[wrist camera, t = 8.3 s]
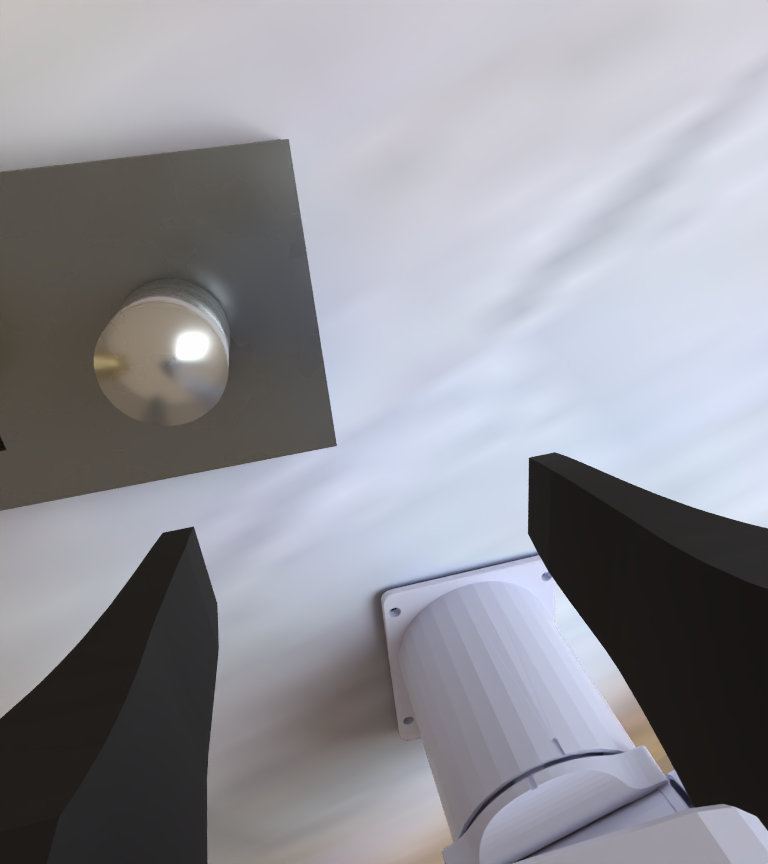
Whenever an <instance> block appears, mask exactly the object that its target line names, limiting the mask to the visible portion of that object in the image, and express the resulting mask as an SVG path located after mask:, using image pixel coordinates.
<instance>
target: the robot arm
mask: <svg viewBox="0 0 768 864" xmlns="http://www.w3.org/2000/svg"><path fill="white" fill-rule="evenodd" d="M528 534H529V536H530V538H531V540H532V542H533V544H534V546H535V548H536V550H537V552H538V554H539V555H538V556H533V557H529V558H525V559H520V560H516V561H512V562H507V563H503V564H499V565H494V566H490V567H486V568H481V569H477V570H473V571H469V572H464V573H460V574H456V575H451V576H447V577H443V578H438V579H434V580H430V581H425V582H421V583H417V584H412V585H408V586H404V587H399V588H395V589H391V590H388V591H386V592H385V593H384V594H383V595H382V597H381V606H382V613H383V620H384V627H385V635H386V642H387V649H388V657H389V664H390V671H391V679H392V686H393V693H394V700H395V708H396V715H397V722H398V730H399V734H400V737H401V738H402V739H403V740H407V741H408V740H413V739H417V738H420V737H421V738H422V741H423V744H424V747H425V751H426V754H427V757H428V761H429V764H430V767H431V770H432V774H433V777H434V780H435V783H436V787H437V790H438V793H439V797H440V800H441V803H442V806H443V810H444V813H445V816H446V819H447V823H448V826H449V829H450V833H451V836H452V839H453V842H454V843H452V844H451V845H449V846H447V847H446V848H444V849H443V851H442V854H443V858H444V861H445V864H768V528H763V527H759V526H755V525H751V524H747V523H743V522H740V521H736V520H733V519H729V518H726V517H722V516H719V515H715V514H712V513H709V512H705V511H702V510H699V509H696V508H693V507H690V506H687V505H684V504H682V503H679V502H676V501H673V500H671V499H668V498H665V497H662V496H660V495H657V494H655V493H652V492H650V491H647V490H645V489H642V488H640V487H637V486H635V485H632V484H630V483H628V482H625V481H623V480H621V479H618V478H616V477H614V476H611V475H609V474H607V473H604V472H602V471H600V470H597V469H595V468H593V467H591V466H588V465H586V464H584V463H581V462H579V461H577V460H574V459H572V458H569V457H567V456H564V455H561V454H558V453H550V454H545V455H540V456H535V457H531V458H529V502H528ZM546 572H547V573H546ZM544 573H546V574H545V575H543V574H544ZM542 575H543V576H542ZM556 583H557V584H558V586H559V587H560V589H561V590H562V591H563V593H564V594H565V595H566V597H567V598H568V600H569V601H570V602H571V604H572V605H573V606H574V608H575V609H576V610H577V612H578V613H579V615H580V616H581V617H582V619H583V620H584V621H585V623H586V624H587V625H588V627H589V628H590V629H591V631H592V632H593V634H594V635H595V636H596V638H597V639H598V640H599V642H600V643H601V644H602V646H603V647H604V648H605V650H606V651H607V653H608V654H609V656H610V657H611V659H612V660H613V662H614V663H615V665H616V666H617V668H618V669H619V671H620V673H621V674H622V676H623V678H624V679H625V681H626V683H627V685H628V686H629V688H630V690H631V691H632V693H633V695H634V697H635V698H636V700H637V702H638V703H639V705H640V707H641V708H642V710H643V712H644V714H645V716H646V717H647V719H648V721H649V723H650V725H651V727H652V728H653V730H654V732H655V734H656V736H657V737H658V739H659V741H660V743H661V745H662V746H663V748H664V750H665V752H666V754H667V756H668V757H669V759H670V761H671V763H672V765H673V767H674V769H675V770H673V771H671V772H670V773H668V774H666V775H667V778H668V780H667V778H666V777H665V775H664V774H663V772H662V771H661V769H660V768H659V766H658V765H657V763H656V762H655V760H654V759H653V757H652V756H651V754H650V753H649V751H648V750H647V748H646V747H645V746H639V747H637V748H636V747H635V745H634V744H633V742H632V741H631V739H630V738H629V736H628V734H627V733H626V731H625V730H624V728H623V727H622V725H621V724H620V722H619V721H618V719H617V718H616V716H615V715H614V713H613V712H612V710H611V709H610V707H609V705H608V704H607V702H606V701H605V699H604V698H603V696H602V695H601V693H600V692H599V690H598V689H597V687H596V686H595V684H594V683H593V681H592V680H591V678H590V676H589V675H588V673H587V672H586V670H585V669H584V667H583V666H582V664H581V663H580V661H579V660H578V658H577V657H576V655H575V654H574V652H573V651H572V649H571V647H570V646H569V644H568V643H567V641H566V640H565V638H564V637H563V635H562V634H561V632H560V631H559V629H558V628H557V626H556V625H555V603H556ZM393 608H397V609H396V610H394V611H390V610H391V609H393ZM218 649H219V645H218V613H217V602H216V598H215V595H214V592H213V588H212V585H211V582H210V579H209V575H208V572H207V569H206V565H205V562H204V559H203V556H202V552H201V549H200V546H199V542H198V539H197V536H196V533H195V529H194V527H189V528H185V529H180V530H175V531H170V532H165V533H162V535H161V536H160V537H159V539H158V540H157V542H156V543H155V544H154V546H153V547H152V548H151V550H150V551H149V553H148V554H147V555H146V557H145V558H144V560H143V561H142V563H141V564H140V565H139V567H138V568H137V570H136V571H135V572H134V574H133V575H132V577H131V578H130V579H129V581H128V582H127V583H126V585H125V586H124V587H123V589H122V590H121V591H120V593H119V594H118V595H117V597H116V598H115V600H114V601H113V602H112V604H111V605H110V606H109V607H108V609H107V610H106V611H105V612H104V613H103V615H102V616H101V617H100V618H99V619H98V621H97V622H96V623H95V624H94V625H93V627H92V628H91V629H90V630H89V632H88V633H87V634H86V635H85V636H84V638H83V639H82V640H81V641H80V642H79V643H78V644H77V645H76V647H75V648H74V649H73V650H72V651H71V652H70V653H69V654H68V655H67V656H66V657H65V658H64V659H63V660H62V662H61V663H60V664H59V665H58V666H57V667H56V668H55V669H54V670H53V671H52V672H51V673H50V674H49V675H48V676H47V677H46V678H45V679H44V680H43V681H42V682H41V683H40V684H39V685H37V686H36V687H35V688H34V689H33V690H32V691H31V692H30V693H29V694H28V695H27V696H25V697H24V698H23V699H22V700H21V701H20V702H19V703H18V704H16V705H15V706H14V707H13V708H12V709H11V710H10V711H9V712H8V713H6V714H5V715H4V716H3V717H2V718H1V719H0V864H207V767H208V751H209V741H210V731H211V721H212V712H213V702H214V692H215V682H216V671H217V661H218Z"/></svg>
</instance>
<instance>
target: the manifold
mask: <svg viewBox="0 0 768 864" xmlns="http://www.w3.org/2000/svg"><path fill="white" fill-rule="evenodd" d="M333 446H337V444H336V438H335V431H334V425H333V419H332V412H331V406H330V400H329V393H328V387H327V381H326V374H325V368H324V361H323V355H322V349H321V342H320V336H319V330H318V323H317V317H316V310H315V304H314V298H313V291H312V285H311V279H310V272H309V266H308V260H307V253H306V247H305V240H304V234H303V228H302V221H301V215H300V209H299V202H298V196H297V190H296V183H295V177H294V170H293V164H292V158H291V151H290V145H289V139H284V140H275V141H266V142H257V143H249V144H240V145H231V146H222V147H214V148H205V149H196V150H188V151H179V152H170V153H161V154H153V155H144V156H135V157H127V158H118V159H109V160H100V161H92V162H83V163H74V164H66V165H57V166H48V167H39V168H31V169H22V170H13V171H5V172H0V511H1V510H6V509H11V508H16V507H22V506H27V505H32V504H37V503H42V502H48V501H53V500H58V499H63V498H68V497H74V496H79V495H84V494H89V493H94V492H99V491H105V490H110V489H115V488H120V487H125V486H131V485H136V484H141V483H146V482H151V481H157V480H162V479H167V478H172V477H177V476H183V475H188V474H193V473H198V472H203V471H209V470H214V469H219V468H224V467H229V466H235V465H240V464H245V463H250V462H255V461H261V460H266V459H271V458H276V457H281V456H287V455H292V454H297V453H302V452H307V451H313V450H318V449H323V448H328V447H333Z"/></svg>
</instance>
